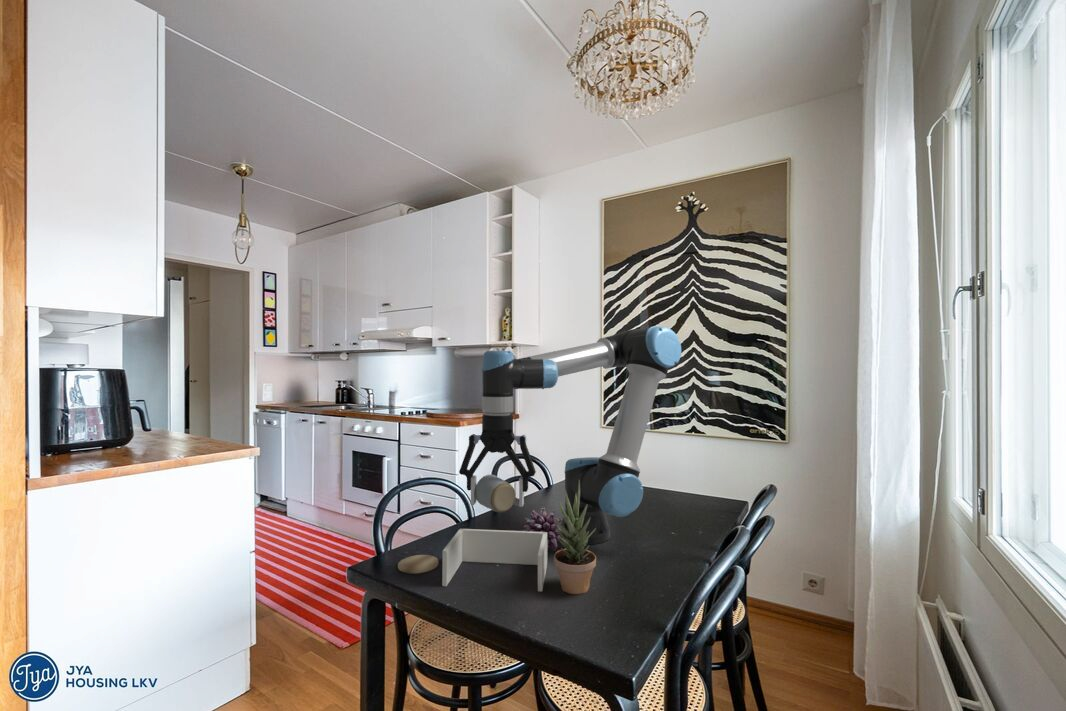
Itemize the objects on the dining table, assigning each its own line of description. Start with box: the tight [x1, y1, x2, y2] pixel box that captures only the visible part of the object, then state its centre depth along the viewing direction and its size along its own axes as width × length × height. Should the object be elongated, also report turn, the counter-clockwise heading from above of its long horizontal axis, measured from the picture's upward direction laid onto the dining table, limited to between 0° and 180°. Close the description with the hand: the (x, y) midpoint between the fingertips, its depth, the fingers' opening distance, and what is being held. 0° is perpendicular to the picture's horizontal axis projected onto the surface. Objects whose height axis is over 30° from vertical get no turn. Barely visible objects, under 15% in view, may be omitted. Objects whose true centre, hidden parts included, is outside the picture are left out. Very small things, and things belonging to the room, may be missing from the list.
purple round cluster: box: [521, 507, 563, 552], centre depth 127 cm, size 12×12×12 cm
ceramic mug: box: [475, 474, 519, 513], centre depth 114 cm, size 11×8×8 cm
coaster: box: [397, 554, 439, 575], centre depth 118 cm, size 10×10×1 cm
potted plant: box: [553, 480, 597, 595], centre depth 106 cm, size 10×10×25 cm
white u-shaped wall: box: [441, 528, 548, 592], centre depth 113 cm, size 23×15×8 cm, turn 84°
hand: (497, 504), depth 113 cm, fingers closed on ceramic mug, 11 cm apart
